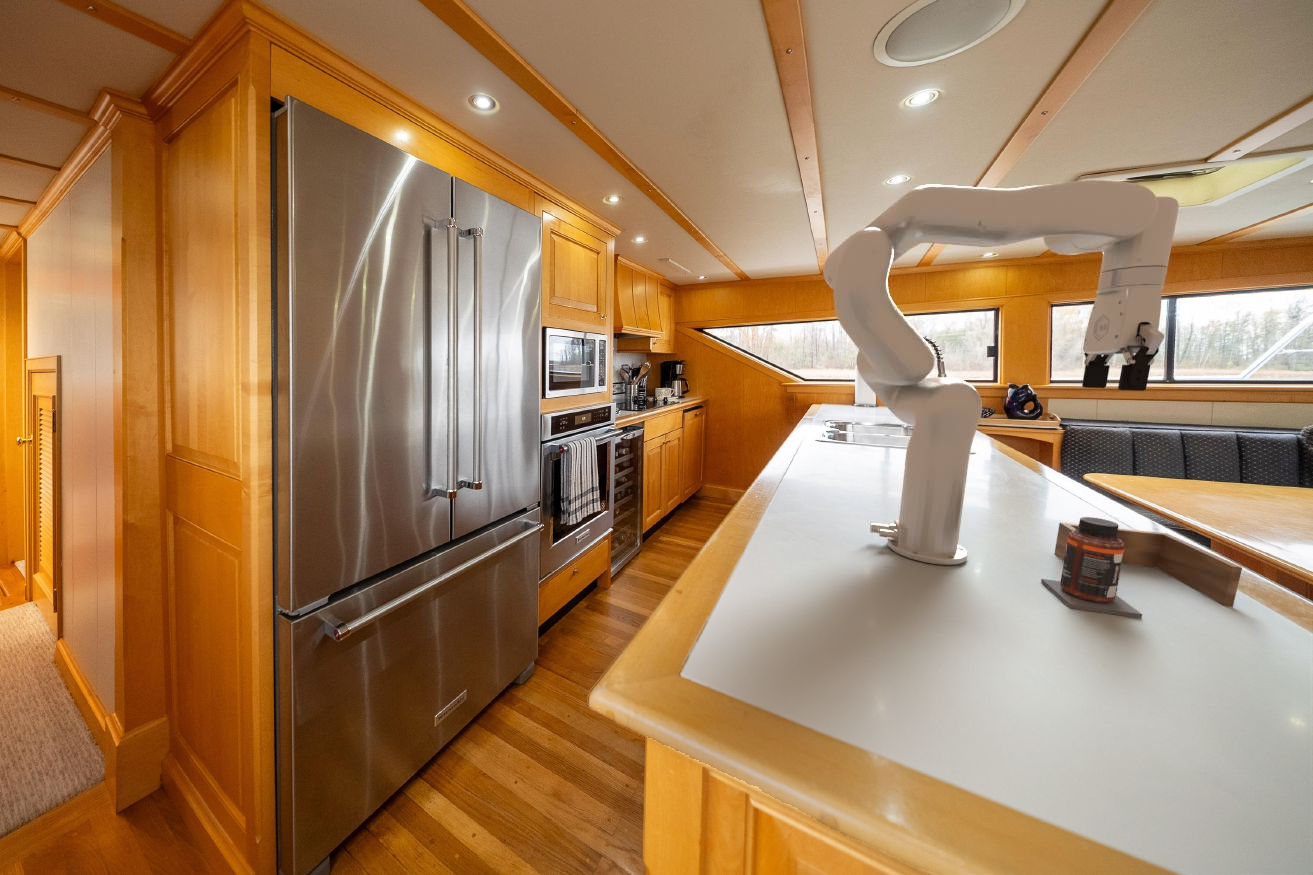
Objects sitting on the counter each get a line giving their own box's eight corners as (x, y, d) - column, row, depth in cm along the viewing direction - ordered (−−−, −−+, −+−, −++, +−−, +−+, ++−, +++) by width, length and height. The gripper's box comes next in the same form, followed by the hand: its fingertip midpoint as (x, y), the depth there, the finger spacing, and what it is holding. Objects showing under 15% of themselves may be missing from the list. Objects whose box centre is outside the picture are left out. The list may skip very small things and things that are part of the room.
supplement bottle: (1126, 607, 62) (1141, 530, 61) (1076, 602, 64) (1090, 526, 62) (1094, 587, 68) (1107, 516, 66) (1049, 582, 69) (1061, 512, 68)
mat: (1069, 607, 63) (1070, 603, 63) (1041, 582, 71) (1041, 578, 71) (1141, 618, 61) (1142, 614, 61) (1104, 590, 68) (1105, 587, 68)
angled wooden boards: (1102, 589, 69) (1109, 552, 68) (1054, 553, 82) (1059, 522, 81) (1232, 606, 64) (1242, 567, 63) (1159, 566, 77) (1166, 533, 76)
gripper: (1071, 292, 82) (1056, 386, 84) (1138, 273, 65) (1117, 390, 68) (1123, 291, 79) (1106, 387, 82) (1206, 271, 63) (1181, 392, 66)
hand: (1111, 389), depth 75 cm, fingers open, 9 cm apart
